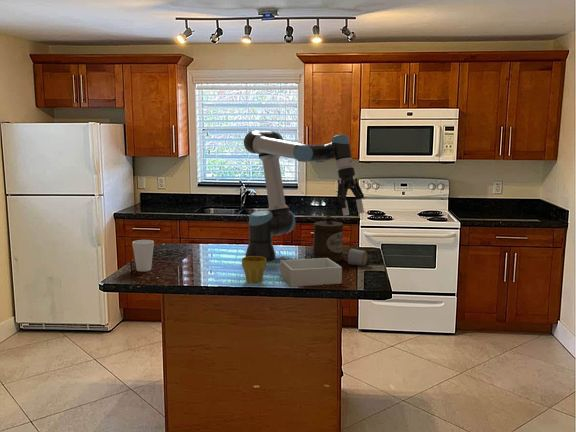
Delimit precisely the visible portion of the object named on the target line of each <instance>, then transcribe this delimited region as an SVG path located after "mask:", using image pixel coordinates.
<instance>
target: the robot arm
mask: <svg viewBox="0 0 576 432" xmlns="http://www.w3.org/2000/svg"><path fill="white" fill-rule="evenodd" d="M348 136H349V135H347V134H343V133H342V134H337V135H334V136H332V138H331V142H329V143H324V144H305V143H299V142H293V141H288V140H284V138H283V135H281V133H279V132H278V131H276V130H275V131H274V130H252V131H249V132H248V133H246V135H245V137H244V139H243V146H244V148H245V150H246V151H247V152H249V153H251V154H257V155H258V159H260V161H261V162H262V166H263V174H264V180H265V181H264V182H265V188H266V195H267V201H268V208H267V209H266V210H261V211H260V210H258V211H254V212H251V214H249V217H248V218H249V219H248V245H247V248H246V251H245V257H248V256H261V257H265V258H266V262H269V261H273V260H275V259H276V251H275V247H274V245H273V237H275V236H279V235H286V234H288V233H290V232H292V231H293V230H294V228H295V225H296V217H295V214H294V213H293V212H292V211H290V207H289V206H288V205H287V204H286V199H285V192H284V187H283V186H284V185H283V178H282V171H281V164H280V157H284V158H289V159H294V160H296V161H298V162H300V163H301V162H302V163H306V162H307V163H308V162H316V163H319V164H320V163H325V162H327V161H331V160H334V159H335V166H336V170H337V175H338V178H339V179H337V192H336V193H337V195H336V197H337V198H336V200H337V201H338V202H339V203H340V205H341V211H342V216H343V217H344V216H345V217H346V216H349V215H350V211H349V205H348V200H347V199H346V198H347V195H348V191H349V190H350V191H351V193H352V194H353V196H354V197H355V198H356V199H355V203H356V208H357V212H358V214H363V213H365V211H364V209H365V208H364V203H363V200H362V199H364V197H365V195H364V193H363V191H362V188H361V186H360V184H359V181H358V178H357V177H356V178H355V177H354V176H355V175H356V172H355V167H354V163H353V161H354V160H353V157H352V153H351V152H352V151H351V146H350V141H349V137H348Z"/></svg>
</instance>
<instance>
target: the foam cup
mask: <svg viewBox="0 0 576 432" xmlns="http://www.w3.org/2000/svg"><path fill="white" fill-rule="evenodd" d="M154 247H155V242H154V240H151V239H138V240H133V241H132V249H133V250H132V251H133V257H134V261H135V267H136V272H149V271H151V270H152V265H153V264H152V263H153V255H154Z"/></svg>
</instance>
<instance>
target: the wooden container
mask: <svg viewBox="0 0 576 432" xmlns="http://www.w3.org/2000/svg"><path fill="white" fill-rule="evenodd" d="M324 219H325V220H322V221H316V222H314V223H313V238H312V239H313V240H312V241H313V242H312V259H317V258H328V259H330V260H332V261H333V262H335V263H336V262H340V261H342V260H343V246H344V245H343V242H344V240H343V239H344V238H343V236H344V235H343V234H344V233H343V231H344V223H343V222H339V221H333V220H332V219H333V218H332V216H330V215H326V216H325V217H324Z"/></svg>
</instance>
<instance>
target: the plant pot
mask: <svg viewBox="0 0 576 432" xmlns="http://www.w3.org/2000/svg"><path fill="white" fill-rule="evenodd" d="M241 266H242V267H241V268H243V270H244V271H243V272H244V277H245V280H246V282H247V283H250V284H257V283H261V282H262V281H263V279H264V278H263V277H264V273H265V268H266V267H267V261H266V258H265V257H261V256H248V257H246V256H244V257H242V258H241Z"/></svg>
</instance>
